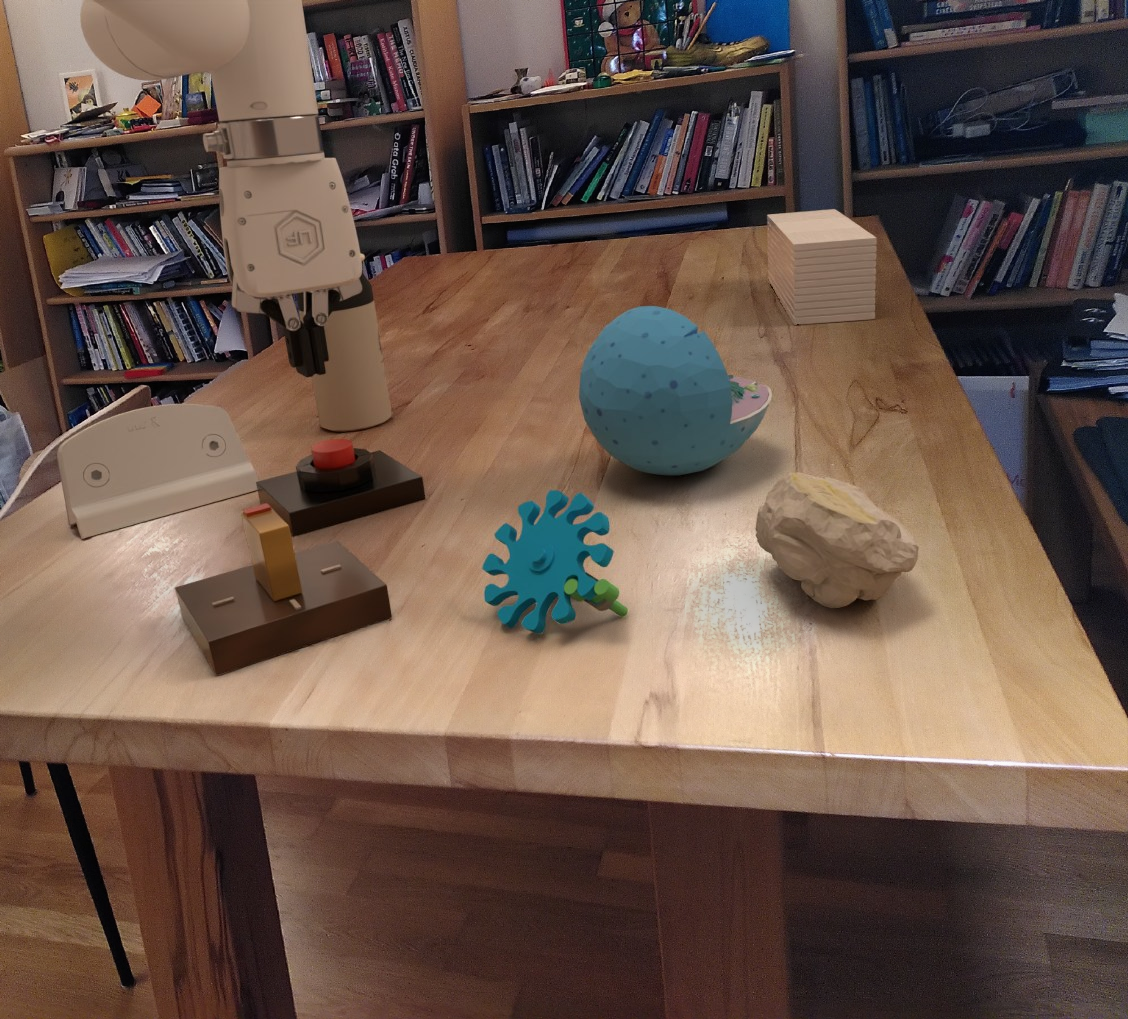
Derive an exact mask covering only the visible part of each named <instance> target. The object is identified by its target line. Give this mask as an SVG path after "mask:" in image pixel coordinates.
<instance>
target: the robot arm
mask: <svg viewBox="0 0 1128 1019" xmlns="http://www.w3.org/2000/svg"><path fill="white" fill-rule="evenodd" d="M79 16H80V27H81V31H82V35H83V37H84V40H85V42H86V44H87V46H88V47H89V50H90V51H91V52H92V54H94V56H95V57H96V58H97V59H98V60H99V61H100V62H101V63H102V64H103V65H104V66H106V67H107V68H108V69H110V70H112V71H113V72H115V73H117V74H119V75H121V76H124V77H126V78H130V79H134V80H138V81H148V82H149V81H161V80H162V81H163V80H168V79H173V78H179V77H182V76H187V75H193V74H200V73H209V75H210V77H211V78H210V79H211V82H212V83H211V84H212V88H213V89H212V90H213V94H214V100H215V105H216V106H215V107H216V112H217V116H218V122H219V123H217V128H216V130H213V131H212V132H211V133H203V134H202V142H203V146H204V150H205V152H206V153H213V152H214V153H217V154H220V155H222V157H223V159H224V160H226V166H222V167H219V171H218V172H219V173H218V197H219V198H218V200H219V215H220V227H221V228H220V229H221V239H222V246H223V254H224V261H225V268H226V272H227V276H228V280H229V284H230V285H231V286H232V290H231V307H232V308H233V310H235V311H237V312H240V313H246V314H247V313H248V314H259V315H265V316H266V317H269V319H271V320H272V321H274V322H275V323H276V324H277V325H279V326H280V327H282V329H283V334H284V340H285V346H286V352H287V357H288V362H289V365H290V366H291V368H293V369H295V370H296V373H298V374H299V375H301V376H303V377H304V378H311V377H313V375H315V374H318V375H323V374H326V370H325V363H324V362H327V361H329V355H328V348H327V342H326V336H325V329H324V325H326V324H327V322H328V317H329V316H330V314H331V313H332V311H333V310H334V309H335V307H336V306H337V304H338V303H339V302H340V301H342V300H345V299H347V298H350V297H352V296H354V295H357V294H359V293H360V292H361V291H362V284H361V282H360V279H359V278H360V276H361V274H362V261H361V254H362V253H361V248H360V242H359V238H358V233H357V228H356V224H355V220H354V215H353V210H352V208H351V204H350V200H349V195H348V193H347V188H346V185H345V182H344V178H343V175H342V173H341V170H340V167H339V164H338V161H337V159H336V157H325V152H324V151H325V150H324V143H323V136H322V129H321V122H320V115H319V109H318V108H319V107H318V102H317V94H316V89H315V88H316V87H315V81H314V75H313V68H312V61H311V54H310V48H309V41H308V33H307V29H306V21H305V14H304V8H303V1H302V0H82V3H81V7H80V14H79ZM360 253H361V254H360ZM301 292H304V317H303V322H304V323H302V321H301V320H300V315H299V312H298V308H297V306H296V303H295V300H294V297H293V294H296V293H301Z"/></svg>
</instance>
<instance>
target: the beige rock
mask: <svg viewBox="0 0 1128 1019" xmlns="http://www.w3.org/2000/svg"><path fill="white" fill-rule="evenodd" d="M757 510H758V511H757V515H756V519H755V520H756V521H755V532H756V533H755V537H756V541H757V544H758V545H759V547H760V548H761V549H763V550H764V552H766V553H769V554H770V555H771V558H772V560H774V562H775V563H776V565H777V567H778V568H780V569H781V571H782V572H783V573H784V574H785V575H786V576H788V577H789V578H790V579H792V580H795V581H801V585H800V586H801V587H800V588H801V589H802V591H803V592H804V593H805V594H806V595H807V596H809V597H810V598H811V599H812V600H813V602H816V603H818V604H820V605H821V606H824V607H827V608H831V609H837V608H843V607H847V606H849V605H851V604H852V603H854V602H855V601H856V600H863V601H869V600H878V598H881V597H882V596H885V595H886V594H887V593H888V592H889V590H890V589H891V588H892V587H893V585H894V583H895V581H896V579H897V578H898V577H900V576H901V575H902V573H909V572H911V571H913V569H914V568H915V567H916V565H917V562H918V560H919V549H920V548H919V545H918V543H917V540H916V539H915V537H913V536H912V535H911V534H910V533H909V532H908V530H907V528H906V527H905V526H904V525H903V524H902V522H900V521H899V520H898V519H896V518H894V517H893V516H892V515H890V514H889V513H887V512H886V511H885V510H884V509H881V508H880V507H878V506H877V505H875V504H874V502H873V501H871V500H870V498H869V497H868V496H867V493H866V492H864V491H863V490H862V489H861V488H860V487H859V486H858V485H854V484H851V483H849V482H846V481H841V480H839V479H835V478H833V477H829V476H825V477H820V476H816V475H815V476H814V475H811V474H809V473H802V472H800V471H798V472H797V471H796V472H787V473H785V474H784V475H782V476H781V477H780V478H779V479H778V480H777V482H776V483H775V484H774V485H773V486H772V488H771V489H770V490H769V491H768V493H767V495H766V498H765V500H764V503H763V505H761V506H759V507H758V509H757Z"/></svg>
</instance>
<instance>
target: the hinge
mask: <svg viewBox="0 0 1128 1019" xmlns="http://www.w3.org/2000/svg"><path fill="white" fill-rule="evenodd" d="M56 459H57V464H58V470H59V475H60V482H61V487H62V493H63V498H64V499H63V500H64V505H65V511H66V516H67V521H68V525H69V526H73V525H76V527H77V530H78V534H79V536H80V540H82V539H83V540H84V539H86V538H90V537H93V536H97V535H101V534H105V533H108V532H112V531H115V530H118V529H122V528H126V527H131V526H133V525H137V524H140V523H144V522H147V521H151V520H154V519H155V520H156V519H158V518H161V517H167V516H169V515H172V514H176V513H177V514H178V513H180V512H184V511H187V510H190V509H194V508H198V507H201V506H205V505H208V504H212V503H217V502H220V501H224V500H226V499H230V498H233V497H237V496H241V495H244V494H249V493H251V492H255V491H258V490H257V485H256V482H257V481H260V480H259V477H258V473H257V472H256V469H255V467H254V466H253V464H252V462H251V460H250V458H249V455H248V454H247V452H246V450H245V447H244V445H243V442H242V441H241V438H240V436H239V435H238V432H237V429H236V428H235V426H234V424H233V421H232V419H231V416H230V415H229V413H228V411H227V410H226V409H224V408H223V407H221V406H216V405H211V404H197V403H170V404H168V403H167V404H160V405H152V406H147V407H141V408H136V409H133V410H130V411H126V412H122V413H119V414H116V415H113V416H110V417H108V418H105V419H103V420H100V421H98V422H95V423H94V424H92V425H90V426H88V427H86V428H83V429H82V430H80V431H79V432H77V433H75V434H74V435H72V436H70V437H69V438H67V439H66V440H64V441H63V442H62V443H60V445H59V447H58V449H57V451H56Z"/></svg>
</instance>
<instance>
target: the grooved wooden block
mask: <svg viewBox="0 0 1128 1019" xmlns="http://www.w3.org/2000/svg"><path fill="white" fill-rule="evenodd" d="M766 220H767V222H766V224H767V225H766V226H767V228H766V230H767V234H766V236H767V280H768V279H769V281H770V283H771V285H772V286H773V289H774V290H775V292H776V294H777V296H778V297H777V296H776V297H777V299H778V298H779V299H780V301H779V302H780V304H781V303H782V304H781V305H783V306H782V308H783V309H784V308H785V309H784V311H785V310H786V311H785V312H786V315H787V316H788V315H789V316H788V317H789V319H790V321H791V320H792V321H791V322H792V324H793V325H794V326H797V324H799V325H811V324H813V325H814V324H825V323H837V322H838V323H839V322H855V321H868V320H876V305H875V304H876V293H877V291H876V287H877V283H876V282H877V276H876V275H877V268H876V267H877V261H876V260H877V251H878V250H877V249H878V248H877V247H878V246H877V244H878V237H877V236H876V235H873V234H872V233H871V232H869V231H868V230H866V229H865V228H863V227H862V226H861V225H859V224H857V223H856V222H855V221H853V220H852V219H850V218H849V217H848V216H846V215H844V214H843V213H842V212H840V211H838V210H837V209H835V208H833V209H831V208H830V209H819V210H809V211H797V212H796V211H795V212H785V213H772V214H767V215H766ZM773 289H772V290H773ZM776 294H775V295H776ZM779 299H778V300H779Z"/></svg>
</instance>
